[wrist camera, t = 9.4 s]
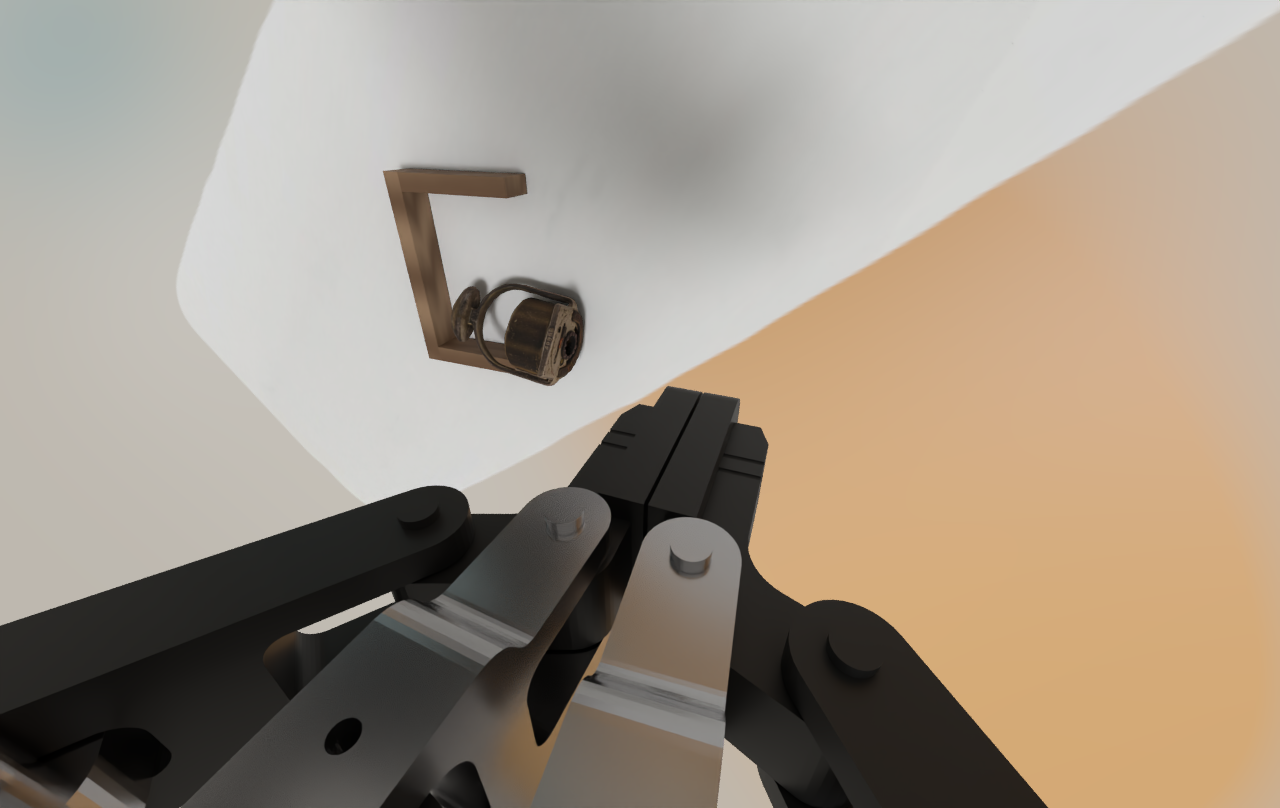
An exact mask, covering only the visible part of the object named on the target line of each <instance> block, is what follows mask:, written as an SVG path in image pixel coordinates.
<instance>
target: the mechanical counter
mask: <svg viewBox="0 0 1280 808" xmlns="http://www.w3.org/2000/svg"><path fill="white" fill-rule="evenodd" d="M510 290H522V291H526V292H529V293H533V294H537V295H540V296H543V297H546V298H549V299H552V300H556V301H560V302H564V303H568V304H569V305H568V306H565V305H562V304H560V303H557V304H553V303H550V302H546V301H543V300H539V299H535V298H527V299H525V300H523V301H522V302H521V303H520V304H519V305H518V306H517V307H516V309H515V310H514V312H513V313H512V315H511V318H510V321H509V323H508V327H507V330H506V333H505V353H506V357H507V359H508V361H509V362H510V364H511V365H512V366H514V367H515V368H516V369H513V368H510V367H507V366H505V365H502V364H500V363H499V362H498V361H496V360H495V359H494V357H493V356H492V355H491V354H490V352H489V350H488V349H487V347H486V345H485V342H484V339H483V322H484V318H485V314H486V311H487V309H488V307H489V306H490V304H491V303H492V302H493V301H494V299H496V298H497V297H498V296H499V295H500V294H502V293H504V292H506V291H510ZM582 321H583V320H582V317H581V315H580V314H579V312H578V309H577V304H576V302H575V300H573V299H571V298H569V297H566V296H562V295H559V294H555V293H552V292H548V291H545V290H541V289H537V288H534V287H530V286H527V285H522V284H505V285H502V286H500V287H498V288H496V289H494V290H492V291H491V292H490V293H489V294H488V295H486V296H485V298H484V299H483V300H482V302H481V304H480V293H479V290H478V289H477V288H476V287H474V286H472V287H468V288H467V289H465V290H464V291H463V292H462V293H461V295H460V296H459V297H458V299H457V300H456V302H455V304H454V306H453V310H452V314H451V325H452V329H453V332H454V334H455V336H456V338H457V339H458V340H459V341H460V342H465V341H467V340H468V339H469V337H470V335H471V334H472V332H473V330H474V334H475V339H476V342H477V345H478V347H479V349H480V351H481V353H482V354H483V356H484V357H485V358H486V360H487V361H488V362H489V363H490V364H491V365H492V366H493V367H495V368H497V369H499V370H501V371H504V372H507V373H510V374H513V375H516V376H519V377H522V378H525V379H528V380H531V381H534V382H537V383H540V384H543V385H546V386H552V385H554V384H555V383H557V382H558V380H559V379H561V378H562V377H564V376H566V375H567V373H568V372H570V371H571V370H572V368H573V366H574V365H575V363H576V360H577V359H578V356H579V353H580V351H581V347H582V340H583V322H582Z"/></svg>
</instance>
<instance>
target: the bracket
mask: <svg viewBox="0 0 1280 808" xmlns="http://www.w3.org/2000/svg"><path fill="white" fill-rule="evenodd" d="M383 173H384V177H385V181H386V185H387V189H388V193H389V197H390V201H391V206H392V210H393V214H394V218H395V222H396V226H397V230H398V234H399V238H400V242H401V246H402V250H403V254H404V258H405V262H406V266H407V270H408V274H409V278H410V282H411V286H412V290H413V294H414V298H415V302H416V306H417V310H418V314H419V318H420V322H421V326H422V330H423V334H424V338H425V342H426V346H427V350H428V354H429V358H431V359H436V360H442V361H447V362H452V363H458V364H463V365H468V366H473V367H479V368H484V369H489V370H495V371H500V372H504V371H501V370H499V369H497V368H495V367H493V366H492V365H491V364H490V363H489V362H488V361H487V360H486V358H485V357H484V356H483V354H482V353H481V351H480V349H479V347H478V345H477V342H476V339H471V338H469V339H468V340H467V341H465V342H460V341H459V340H458V339H457V338H456V336H455V334H454V332H453V329H452V325H451V314H452V308H451V303H450V298H449V293H448V289H447V284H446V279H445V274H444V270H443V265H442V260H441V255H440V250H439V246H438V241H437V236H436V231H435V227H434V222H433V217H432V212H431V207H430V203H429V198H428V193H433V194H448V195H464V196H479V197H495V198H510V197H515V196H519V195H523V194H527V188H526V178H525V174H517V173H495V172H474V171H453V170H431V169H410V168H409V169H400V170H390V171H383ZM484 342H485V345H486V347H487V349H488V350H489V352H490V354H491V355H492V356H493V357H494V359H495V360H496V361H498V362H499V363H500V364H502V365H505V366H507V367H510V368H513V369H516V368H515V367H514V366H512V365H511V364H510V362H509V361H508V359H507V357H506V353H505V344H501V343H495V342H489V341H484ZM505 373H507V372H505Z"/></svg>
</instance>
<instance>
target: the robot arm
mask: <svg viewBox="0 0 1280 808" xmlns="http://www.w3.org/2000/svg"><path fill="white" fill-rule="evenodd" d="M739 406H740V399H738V398H733V397H727V396H722V395H716V394H710V393H704V394H703V393H702V392H698V391H693V390H687V389H682V388H676V387H670V386H667V387H666V389H665V390H664V392H663V393H662V395H661V396H660V398H659V399H658V401H657V403H656V404H655V406H654V407H652V406H646V405H641V404H639V405H637V406H635V407H634V408H632V409H630V410H628V411H627V412H625V413H623V414H621V416H620V417H619V418H618V420H617V421H616V422H615V424H614V425H613V426H612V428H611V430H610V432H608V433H607V435H606V436H605V437H604V439H603V440H602V443H601V445H600V444H599V445H598V447H597V448H596V450H595V451H594V452H593V454H592V455H591V456H590V458H589V459H588V460H587V462H586V463H585V464H584V466H583V467H582V468H581V470H580V471H579V472H578V474H577V475H576V476H575V478H574V479H573V480H572V482H571V483H570V485H569V486H568V487H563V488H557V489H553V490H549V491H547V492H544V493H542V494H540V495H538V496H537V497H535V498H533V499H532V500H531V501H530V502H529V503H528V504H527V505H526V506H525V507H524V508H523V509H522V510H521V511H520V512H519V513H518V514H471V512H470V508H469V504H468V501H467V499H466V497H465V495H464V494H463V493H461V492H460V491H458V490H457V489H454V488H451V487H447V486H426V487H420V488H417V489H413V490H410V491H407V492H404V493H401V494H398V495H395V496H392V497H389V498H386V499H383V500H380V501H377V502H374V503H371V504H368V505H365V506H362V507H358V508H355V509H352V510H350V511H346V512H344V513H340V514H337V515H335V516H331V517H328V518H325V519H322V520H319V521H317V522H314V523H310V524H307V525H304V526H301V527H298V528H295V529H292V530H289V531H286V532H283V533H280V534H277V535H274V536H271V537H268V538H265V539H262V540H259V541H256V542H253V543H249V544H246V545H243V546H241V547H237V548H234V549H231V550H228V551H225V552H222V553H219V554H216V555H213V556H210V557H207V558H204V559H201V560H198V561H195V562H192V563H189V564H186V565H183V566H180V567H177V568H174V569H171V570H168V571H165V572H162V573H159V574H156V575H153V576H150V577H147V578H144V579H141V580H137V581H134V582H132V583H128V584H125V585H122V586H120V587H116V588H113V589H110V590H107V591H104V592H101V593H98V594H95V595H92V596H89V597H86V598H83V599H80V600H77V601H74V602H71V603H68V604H65V605H62V606H59V607H56V608H53V609H50V610H47V611H44V612H41V613H38V614H35V615H32V616H29V617H25V618H23V619H19V620H16V621H13V622H10V623H7V624H4V625H1V626H0V808H179V807H181V806H182V807H181V808H717V801H718V800H717V799H718V792H719V782H720V773H721V765H722V755H723V746H724V738H725V739H726V740H728V741H729V742H730V743H731V744H732V745H734V746H735V747H736V748H737V749H738V750H739V751H741V752H742V753H743V754H744V755H746V756H747V757H748V758H749V759H750V760H752V761H753V762H754V763H755V764H756V765H757V768H758V772H759V775H760V778H761V781H762V783H763V786H764V788H765V790H766V792H767V794H768V797H769V799H770V801H771V803H772V805H773V808H1048V807H1047V806H1046V805H1045V804H1044V802H1043V801H1042V800H1041V799H1040V798H1039V796H1038V795H1037V794H1036V793H1035V792H1034V791H1033V789H1032V788H1031V787H1030V786H1029V785H1028V784H1027V782H1026V781H1025V780H1024V779H1023V778H1022V777H1021V776H1020V774H1019V773H1018V772H1017V771H1016V770H1015V768H1014V767H1013V766H1012V765H1011V764H1010V763H1009V761H1008V760H1007V759H1006V758H1005V757H1004V755H1003V754H1002V753H1001V752H1000V751H999V750H998V748H997V747H996V746H995V745H994V744H993V743H992V741H991V740H990V739H989V738H988V737H987V736H986V734H985V733H984V732H983V731H982V730H981V729H980V728H979V726H978V725H977V724H976V723H975V721H974V720H973V719H972V718H971V717H970V716H969V714H968V713H967V712H966V711H965V710H964V709H963V707H962V706H961V705H960V704H959V703H958V701H957V700H956V699H955V698H954V697H953V696H952V694H951V693H950V692H949V691H948V690H947V689H946V687H945V686H944V685H943V684H942V683H941V682H940V680H939V679H938V678H937V677H936V676H935V675H934V673H933V672H932V671H931V670H930V669H929V667H928V666H927V665H926V664H925V663H924V662H923V660H922V659H921V658H920V657H919V656H918V655H917V654H916V652H915V651H914V650H913V649H912V648H911V646H910V645H909V644H908V643H907V642H906V641H905V639H904V638H903V637H902V636H901V635H900V634H899V633H898V632H897V631H896V630H895V629H894V627H892V626H891V625H890V624H889V623H888V622H886V621H885V620H884V619H882V618H881V617H880V616H878V615H877V614H875V613H873V612H871V611H870V610H868V609H866V608H864V607H861V606H859V605H856V604H853V603H849V602H845V601H839V600H822V601H817V602H814V603H811V604H809V605H807V606H803V605H801V604H800V603H798V602H796V601H794V600H793V599H791V598H790V597H788V596H786V595H784V594H783V593H781V592H780V591H778V590H777V589H775V588H774V587H773V586H772V585H770V584H769V583H768V582H767V581H766V580H765V579H764V578H763V577H762V576H761V575H760V574H759V572H758V571H757V569H756V568H755V566H754V565H753V562H752V560H751V558H750V555H749V551H748V546H749V542H750V537H751V532H752V527H753V522H754V518H755V513H756V508H757V504H758V498H759V492H760V487H761V482H762V477H763V471H764V465H765V460H766V455H767V449H768V442H767V440H766V438H765V436H764V434H763V431H762V429H761V428H760V427H755V426H749V425H744V424H740V423H737V422H738V414H739ZM389 592H392V594H393V597H394V599H395V602H394V603H391V604H389V605H387V606H384V607H382V608H379V609H377V610H375V611H372V612H370V613H368V614H366V615H363V616H361V617H358V618H356V619H354V620H351V621H349V622H347V623H344V624H342V625H340V626H337V627H335V628H332V629H330V630H328V631H325V632H322V633H317V634H304V633H301V632H298V631H297V630H299V629H302V628H304V627H307V626H309V625H311V624H314V623H316V622H319V621H321V620H323V619H326V618H328V617H331V616H333V615H336V614H338V613H340V612H343V611H345V610H347V609H350V608H352V607H355V606H357V605H360V604H362V603H364V602H367V601H369V600H372V599H374V598H377V597H379V596H381V595H384V594H386V593H389Z"/></svg>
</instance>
